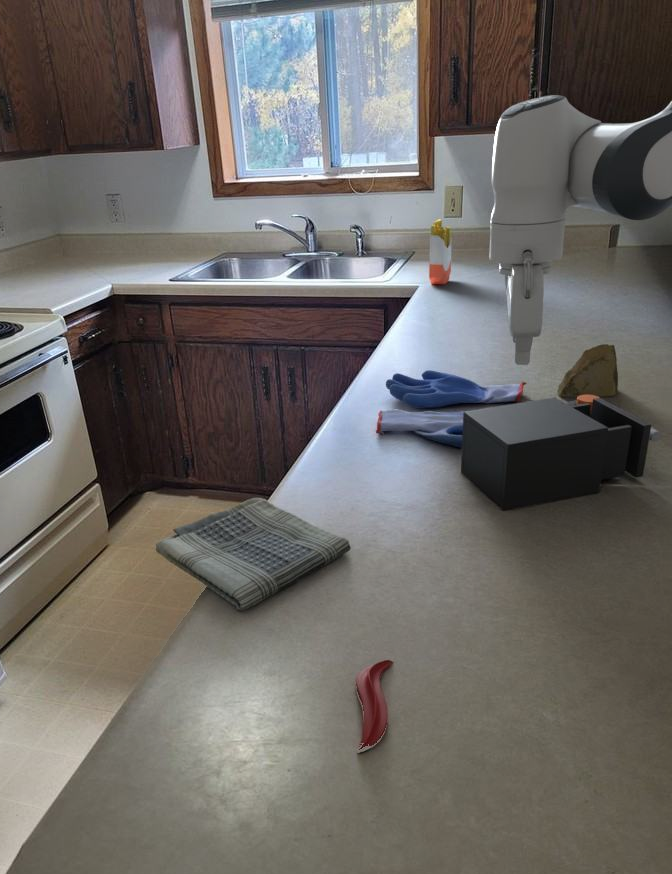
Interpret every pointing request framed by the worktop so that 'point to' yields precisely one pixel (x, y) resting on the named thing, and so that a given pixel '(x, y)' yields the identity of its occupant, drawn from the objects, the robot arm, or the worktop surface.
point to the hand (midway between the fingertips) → (520, 352)
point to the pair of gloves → (439, 404)
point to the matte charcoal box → (532, 452)
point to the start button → (586, 399)
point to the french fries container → (440, 253)
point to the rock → (592, 374)
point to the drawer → (621, 438)
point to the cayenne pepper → (372, 702)
